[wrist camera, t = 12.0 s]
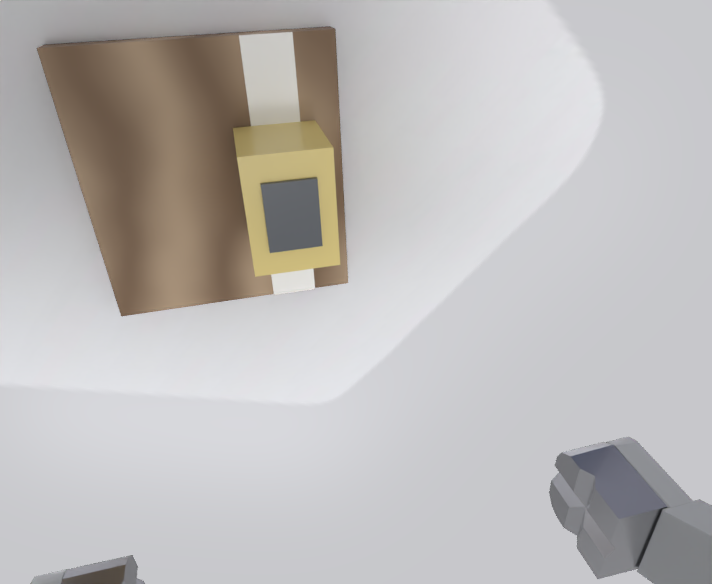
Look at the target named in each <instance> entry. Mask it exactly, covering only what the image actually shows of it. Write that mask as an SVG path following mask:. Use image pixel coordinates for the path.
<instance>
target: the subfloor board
mask: <svg viewBox="0 0 712 584" xmlns="http://www.w3.org/2000/svg"><path fill="white" fill-rule="evenodd" d="M37 51H38V54H39V57H40V60H41V64H42V67H43V70H44V73H45V76H46V79H47V82H48V86H49V89H50V92H51V95H52V98H53V101H54V105H55V108H56V111H57V114H58V117H59V120H60V124H61V127H62V130H63V133H64V136H65V139H66V143H67V146H68V149H69V152H70V155H71V158H72V162H73V165H74V168H75V171H76V174H77V177H78V181H79V184H80V187H81V190H82V193H83V196H84V199H85V203H86V206H87V209H88V212H89V215H90V218H91V222H92V225H93V228H94V231H95V234H96V237H97V241H98V244H99V247H100V250H101V253H102V256H103V260H104V263H105V266H106V269H107V272H108V275H109V279H110V282H111V285H112V288H113V291H114V294H115V298H116V301H117V304H118V307H119V310H120V313H121V316H127V315H133V314H140V313H147V312H154V311H161V310H167V309H174V308H181V307H188V306H195V305H201V304H208V303H215V302H222V301H228V300H235V299H242V298H249V297H256V296H262V295H269V294H274V295H279V294H286V293H292V292H299V291H306V290H313V289H315V288H317V287H323V286H330V285H337V284H344V283H348V272H347V252H346V233H345V213H344V193H343V174H342V154H341V134H340V114H339V95H338V75H337V55H336V36H335V29H334V28H332V27H316V28H300V29H285V30H269V31H253V32H237V33H222V34H206V35H190V36H174V37H159V38H143V39H127V40H111V41H96V42H80V43H64V44H48V45H42V46H40V47H38V48H37ZM312 120H315V121H316V122H317V124H318V125H319V127H320V128H321V130H322V131H323V133H324V134H325V136H326V137H327V139H328V140H329V142H330V143H331V145H332V146H333V149H334V166H335V183H336V200H337V217H338V234H339V251H340V265H335V266H328V267H321V268H314V269H307V270H300V271H293V272H286V273H278V274H271V275H264V276H257V277H255V272H254V266H253V259H252V253H251V246H250V240H249V233H248V227H247V220H246V214H245V207H244V201H243V194H242V188H241V181H240V175H239V168H238V162H237V155H236V147H235V140H234V133H233V128H237V127H248V126H258V125H269V124H280V123H291V122H301V121H312Z"/></svg>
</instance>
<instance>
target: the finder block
mask: <svg viewBox="0 0 712 584" xmlns="http://www.w3.org/2000/svg"><path fill="white" fill-rule="evenodd" d="M233 133H234V140H235V147H236V155H237V162H238V168H239V175H240V181H241V188H242V194H243V201H244V207H245V214H246V220H247V227H248V233H249V240H250V246H251V253H252V259H253V266H254V272H255V277H257V276H264V275H271V274H278V273H286V272H293V271H300V270H307V269H314V268H321V267H328V266H335V265H340V251H339V234H338V217H337V200H336V183H335V166H334V149H333V146H332V145H331V143H330V142H329V140H328V139H327V137H326V136H325V134H324V133H323V131H322V130H321V128H320V127H319V125H318V124H317V122H316V121H315V120H312V121H301V122H291V123H280V124H269V125H258V126H248V127H237V128H233Z"/></svg>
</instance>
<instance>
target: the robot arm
mask: <svg viewBox="0 0 712 584" xmlns="http://www.w3.org/2000/svg"><path fill="white" fill-rule="evenodd" d="M555 466H556V468H557V469H558V471H559V473H558V474H557V475H556V476H555V477H554V478H553V480H552V481H551V486H550V491H549V493H550V498H551V504H552V507H553V509H554V512H555V514H556V516H557V518H558V519H559V521H560V522H561V524H562V526H563V527H564V528H565V529H567V530H568V531H570V532H572V533H574V534H575V535H577V549H578V550H579V552H580V553H581V555H582V556H583V558H584V559H585V561H586V562H587V564H588V565H589V567H590V568H591V570H592V571H593V573H594V574H595V576H596V577H597V579H600V578H604V577H608V576H612V575H616V574H619V573H623V572H627V571H631V570H635V569H638V570H637V572H638V573H640V574H641V575H643V576H644V577H645V578H647V579H648V580H649V581H651V582H652V583H654V584H712V505H710V504H708V503H706V502H704V501H702V500H695V501H693V500H692V499H691V498H690V497H689V496H688V495H687V494H686V493H685V492H684V491H683V490H682V489H681V488H680V487H679V485H677V483H676V482H675V481H674V480H673V479H672V478H671V477H670V476H669V475H668V474H667V473H666V472H665V470H663V469H662V467H661V466H660V465H659V464H658V463H657V462H656V461H655V460H654V459H653V458H652V457H651V456H650V454H648V452H647V451H646V450H645V449H644V448H643V447H642V446H641V445H640V444H639V443H638V442H637V441H636V440H634V439H632V438H631V437H625V438H620V439H616V440H613V441H609V442H601V443H598V444H593V445H589V446H585V447H582V448H578V449H574V450H570V451H566V452H562V453H561V454H560V455H559V456H558V457H557V460H556V464H555ZM137 568H138V566H137V564H136V562H135V560H134V558H133V555H130V556H126V557H121V558H117V559H112V560H108V561H103V562H98V563H94V564H90V565H85V566H80V567H76V568H71V569H66V570H61V571H57V572H53V573H48V574H44V575H40V576H36V577H34V579H33V580H32V582H31V584H145V583H144V581H142V580H140V579H137Z"/></svg>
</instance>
